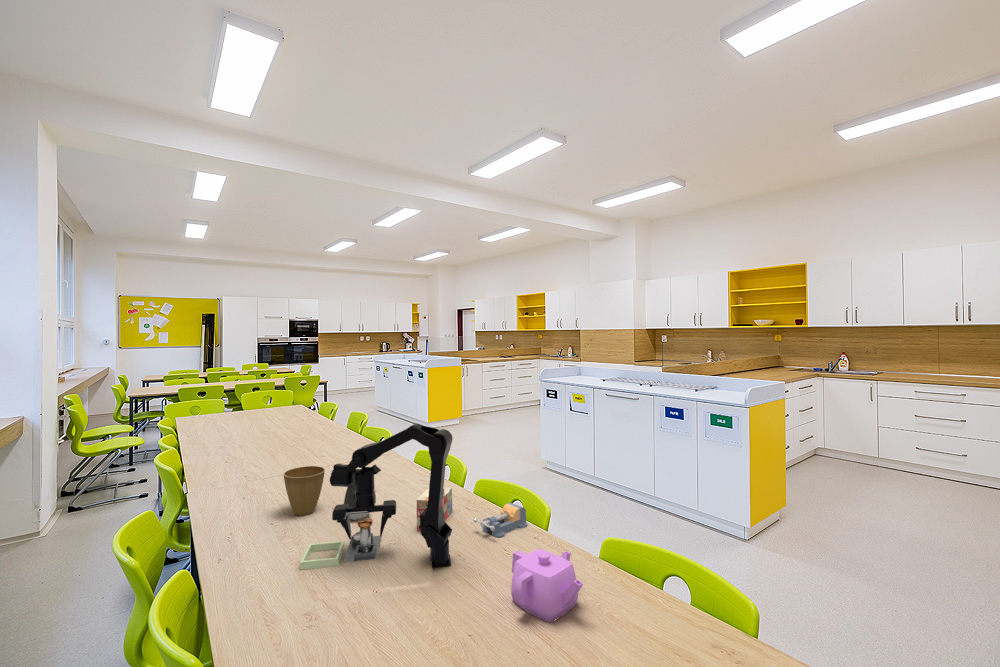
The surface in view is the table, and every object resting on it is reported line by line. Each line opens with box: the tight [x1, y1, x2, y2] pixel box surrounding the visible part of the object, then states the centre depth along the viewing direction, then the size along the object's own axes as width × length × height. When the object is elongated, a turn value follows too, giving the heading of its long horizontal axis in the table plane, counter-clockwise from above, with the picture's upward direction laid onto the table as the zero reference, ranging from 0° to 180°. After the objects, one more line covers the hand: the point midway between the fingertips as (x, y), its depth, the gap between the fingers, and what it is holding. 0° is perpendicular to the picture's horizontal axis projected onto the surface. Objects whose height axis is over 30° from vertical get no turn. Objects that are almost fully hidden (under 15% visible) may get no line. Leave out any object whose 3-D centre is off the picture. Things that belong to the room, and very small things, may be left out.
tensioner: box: [343, 531, 383, 563], centre depth 142 cm, size 16×10×4 cm, turn 11°
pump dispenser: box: [343, 483, 369, 521], centre depth 169 cm, size 10×10×15 cm
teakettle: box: [510, 548, 584, 623], centre depth 114 cm, size 17×17×12 cm
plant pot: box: [283, 465, 326, 516], centre depth 175 cm, size 15×15×16 cm
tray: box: [299, 540, 345, 571], centre depth 136 cm, size 12×11×3 cm
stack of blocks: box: [416, 487, 453, 533], centre depth 164 cm, size 21×6×12 cm, turn 169°
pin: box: [357, 517, 374, 553], centre depth 139 cm, size 4×4×10 cm
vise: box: [472, 502, 528, 539], centre depth 157 cm, size 18×10×7 cm, turn 132°
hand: (365, 537), depth 138 cm, fingers open, 9 cm apart
